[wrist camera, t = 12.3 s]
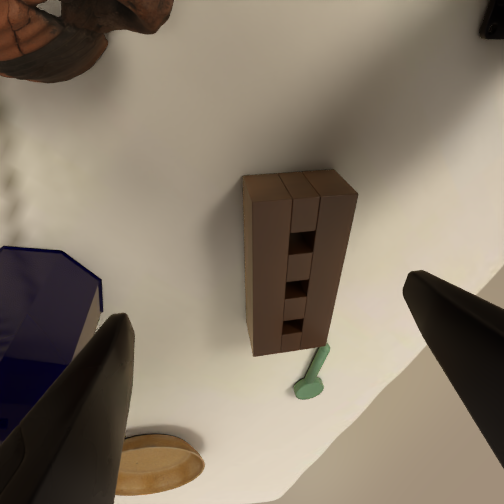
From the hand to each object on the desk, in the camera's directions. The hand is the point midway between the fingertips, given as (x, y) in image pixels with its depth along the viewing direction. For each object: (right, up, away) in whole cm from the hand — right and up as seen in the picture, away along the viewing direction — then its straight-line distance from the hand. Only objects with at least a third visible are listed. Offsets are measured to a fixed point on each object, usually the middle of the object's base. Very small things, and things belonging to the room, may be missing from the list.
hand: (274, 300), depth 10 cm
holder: (+2, +1, +16) cm, 16 cm away
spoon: (+7, -8, +23) cm, 26 cm away
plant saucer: (-15, -25, +32) cm, 44 cm away
